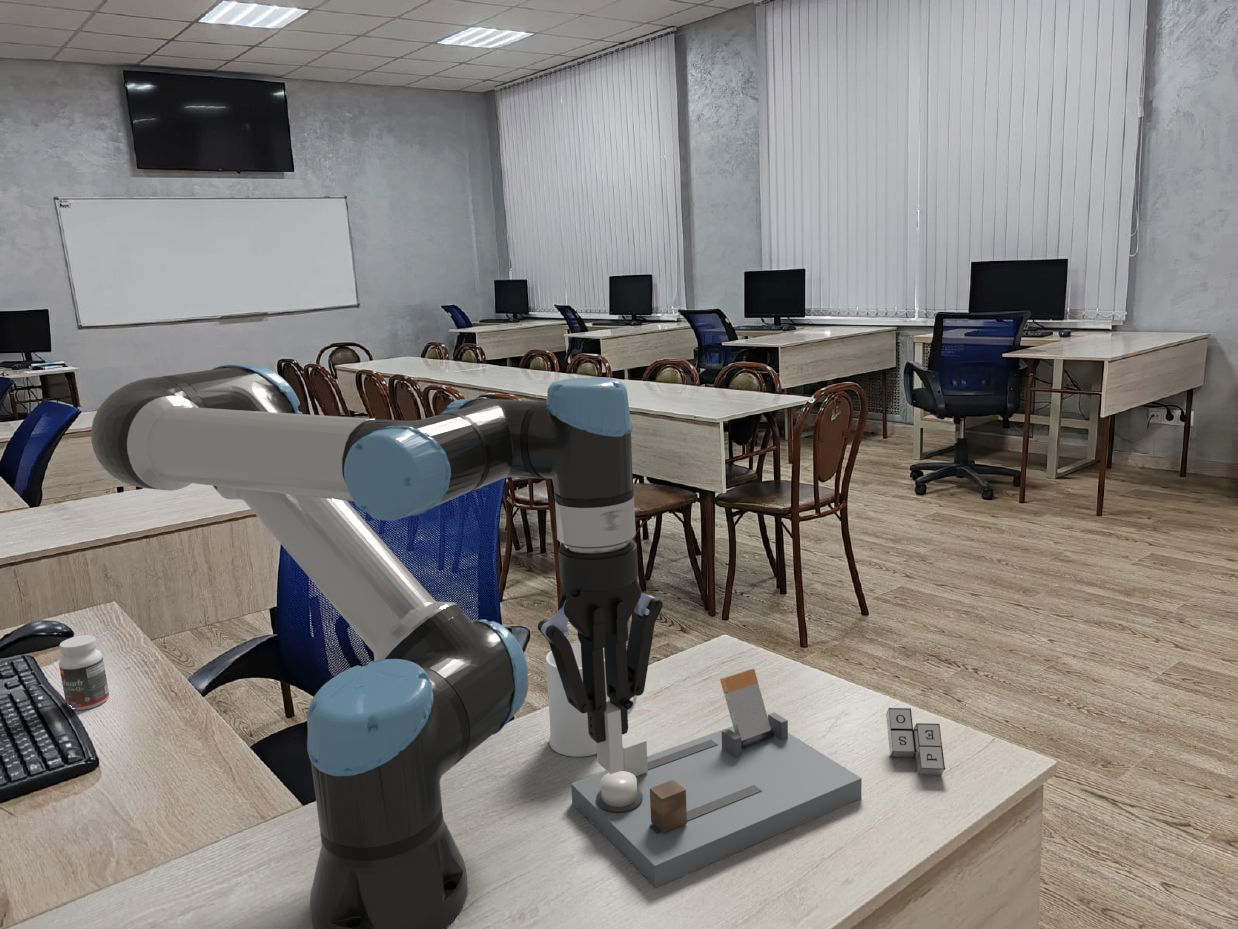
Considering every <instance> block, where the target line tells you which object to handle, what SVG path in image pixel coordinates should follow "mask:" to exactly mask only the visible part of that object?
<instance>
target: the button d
mask: <svg viewBox="0 0 1238 929" xmlns="http://www.w3.org/2000/svg"><path fill="white" fill-rule="evenodd" d="M601 796H602V801H603V802H604V803H605V804H607V805H609V806H613V807H623V806H628V805H630V804H632V803H633V802H635V801H636V799H637V779H636V777H635V776H634V775H633V774H632V773H630V772H626V771H619V772H616V773H613V774H610V773H607V774H606V775H604V776H603V777H602V779H601Z"/></svg>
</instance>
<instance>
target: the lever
mask: <svg viewBox="0 0 1238 929" xmlns="http://www.w3.org/2000/svg"><path fill="white" fill-rule="evenodd" d="M719 680H720V684H721V688H722V691H723V694H724V695H723V696H724V698H725V701H726V706H727V708H728V709H727V710H728V713H729V716H730V720H731V723H732V726H733V728H734V731H735V733H736V734H737V735H739V736H740V737H741V748H745V747H747V746H750V745H753V744H755V743H758V742H761V741H764V740H766V739H769V738H772V737H774V731H773V730H772V728H771V727H770V724H769V720H768V713H767V710H766V707H765V704H764V699H763V696H762V692H761V688H760V685H759V681H758V677H757V672H756V670H755V668H750V669H747V670H743V671H740V672H737V673H734V674H731V675H727V676H725V677H722V678H719Z"/></svg>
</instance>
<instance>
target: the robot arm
mask: <svg viewBox="0 0 1238 929" xmlns="http://www.w3.org/2000/svg"><path fill="white" fill-rule="evenodd" d="M548 386H549V387H548V388H547V392H546V393H547V395H546V400H529V399H528V400H527V399H498V398H497V399H496V398H490V397H488V396H486V397H483V396H480V397H477V398H470V399H468V398H467V399H457V400H455V401H452V402H450V403H449V405H446V406H447V407H446V408H445V410H443V412H441V413H440V414H437V415H433V416H429V417H426V418H422V419H418V420H417V419H416V420H399V419H398V420H396V419H394V420H393V419H376V418H365V417H351V416H337V415H335V416H334V415H321V414H319V415H318V414H306V413H305V414H304V413H303V412H302V411H299V406H300V404H301V402H300V400H299V398H298V396H297V394H296V392H295V391H294V389H293V388H292V386H291V385H290V384H289V383H288V381H287V380H285V379H284V377H282V376H281V375H279V374H278V373H277V372H275V371H273V370H272V369H270V368H267V367H264V366H262V365H261V366H260V365H255V364H242V365H241V364H225V365H219V366H217V367H213V368H212V369H207V370H206V369H205V370H200V371H193V372H183V373H177V374H170V375H163V376H158V377H157V376H154V377H148V378H147V377H146V378H142V379H137V380H135V381H132V382H129V383H127V384H125V385H123V386H121V387H119V388H118V389H116V390H115V391H113V392H112V393H111V394H109V395H108V397H107V398H105V400H104V401H103V402H102V404H101V405H100V406H99V407H98V408H97V410H96V413H95V415H94V417H93V419H92V424H91V425H92V426H91V430H90V432H91V433H90V436H91V439H90V440H91V445H92V449H93V453H94V454H95V457H96V459H97V460H98V462H99V463H100V465H101V466H102V468H103V469H104V470H105V471H106V472H107V473H108V474H109V475H110V476H111V477H113V478H115V479H117V480H118V481H120V482H122V483H124V484H127V485H129V486H133V487H136V488H137V487H138V488H143V489H149V490H151V489H153V490H157V491H158V490H159V491H167V492H168V491H178V490H180V489H182V490H183V489H184V488H186V487H188V486H190V485H191V484H194V485H205V486H211V487H212V486H213V488H214V489H215V490H216V492H217V493H218V494H219V495H220V496H221V497H222V498H224V499H226V500H239V501H240V500H242V501H243V502H244V503H245V504H246V505H247V506H248V508H249V509H250V510H251V511H252V513H253V514H254V515H255V516H256V517H257V518H258V519H259V520H260V521H261V522H262V524H263V525H264V526H265V527H266V529H268V530H269V532H270V533H271V534H272V535H273V537H274V538H275V539H276V541H277V542H278V543H279V544H280V545H281V546H282V547H283V548H284V550H285V551H286V552H287V553H288V554H289V555H290V557H291V558H292V560H294V561H295V563H297V565H298V566H299V567H300V569H301V570H302V571H303V572H304V573H305V574H306V575H307V576H308V578H309V579H310V580H311V581H312V583H313V584H315V587H317V588H318V589H319V590H320V592H322V594H323V596H324V597H325V598H326V599H327V600H328V601H329V602H330V603H331V604H332V605H333V607H334V609H336V611H338V613H339V614H340V615H341V616H342V617H343V619H344V620H345V621H346V622H347V623H348V624H349V626H350V627H351V628H352V629H353V630H354V631H355V633H356V634H357V635H358V636H359V638H361V640H363V642H364V643H365V645H367V647H368V648H369V649H370V650H371V652H372V653H373V657H374V659H373V661H369V662H368V663H367V665H365V666H361V665H355V666H353V667H350V668H348V669H346V670H344V671H342V672H340V673H338V674H337V675H335V676H334V677H332V678H331V679H329V680H328V681H327V682H326V683H324V684H323V685H322V686H321V687H320V689H319V690H318V691H317V692H316V693H315V694H314V696H313V698H312V699H311V702H310V704H309V707H308V710H307V716H306V719H307V720H306V722H307V723H306V724H307V740H306V750H307V754H308V757H309V761H310V767H311V768H310V769H311V774H312V780H313V781H312V782H313V789H314V795H315V801H316V810H317V811H316V812H317V817H318V819H317V820H318V825H319V832H320V839H321V840H320V842H321V846H320V851H319V854H318V859H317V862H316V863H317V864H316V868H315V872H314V877H313V881H312V885H311V889H310V896H309V897H310V898H309V906H310V907H309V908H310V914H311V923H312V928H313V929H443V928H444V927H445V928H446V927H447V926H449V925H450V924H451V923H452V922H453V921H454V920H455V919H456V917H458V915H459V914H460V912H461V911H462V909H463V907H464V906H465V902H466V899H467V896H468V889H469V888H468V877H467V867H466V864H465V861H464V860H465V859H464V858H463V856H462V853H461V852H460V850H459V848H458V846H457V844H456V843H457V842H455V839H454V838H453V836H452V833H451V832H450V829H449V827H448V825H447V823H446V821H445V819H444V814H443V813H444V812H443V806H442V805H443V803H442V791H441V779H442V776H443V775H445V774H446V773H447V772H449V771H450V770H451V769H452V768H453V767H454V766H455V765H457V764H459V762H461V761H462V760H463V759H464V758H465V757H467V756H468V755H469V754H470V753H472V752H473V751H474V750H475V749H476V748H478V747H480V746H481V744H483V743H484V742H485V741H487V740H488V738H490V737H492V735H496V734H497V733H499V732H500V731H501V730H502V729H503V728H504V727H505V726H506V725H507V724H508V723H509V721H510V720H511V719H512V718H513V717H514V716H515V715H516V714H517V713H518V712H519V711H520V710H521V708H522V706H523V704H524V702H525V700H526V698H527V695H528V691H529V685H530V684H529V679H528V678H529V677H528V674H529V667H528V662H527V659H526V655H525V653H524V651H523V649H522V647H521V645H520V643H519V642H518V639H517V638H516V636H514V634H513V633H512V632H510V630H509V629H508V628H506V627H505V626H503V625H502V624H501V623H499V622H497V621H494V620H492V621H489V620H487V619H479V618H478V619H475V620H472V619H471V618H470V617H469V616H468V615H467V614H466V613H465V611H463V610H462V609H461V607H460V606H459V605H458V604H457V603H456V602H453V601H451V602H450V601H437V600H435V599H434V597H432V595H431V594H430V593H429V592H427V590H426V589H425V588H424V586H422V584H421V583H420V582H419V581H418V580H417V579H416V577H415V576H414V575H413V574H412V573H411V572H410V571H409V570H408V569H407V567H406V566H405V565H404V564H403V562H401V560H400V559H399V558H398V557H397V556H396V555H395V553H394V552H393V551H392V550H391V549H390V548H389V547H388V546H387V544H386V543H385V542H384V541H383V539H381V538H380V536H379V535H378V534H377V533H376V532H375V531H374V529H372V528H371V526H370V525H369V524H368V523H367V522H366V520H364V518H363V517H362V516H361V515H360V514H359V512H357V510H356V509H355V508H354V507H353V506H352V505H351V503H350V502H354V504H355V505H356V506H357V507H358V508H359V509H360V510H362V511H364V512H366V513H367V514H368V515H369V516H370V517H371V518H373V519H376V520H380V521H388V522H389V521H390V522H391V521H396V520H397V521H398V520H401V519H402V518H406V517H415V516H419V515H422V514H425V513H426V512H428V511H430V510H432V509H433V508H435V507H437V506H439V505H441V504H443V503H446V502H449V501H451V500H453V499H456V498H459V497H460V496H463V495H465V494H467V493H469V492H473V491H476V490H479V489H481V488H483V487H485V486H488V485H490V484H492V483H496V482H498V481H500V480H502V479H505V478H507V479H508V478H526V479H540V480H542V479H543V480H548V479H551V480H552V486H553V492H554V507H555V519H556V520H555V522H556V536H557V538H556V540H557V541H559V542H560V546H559V547H558V550H557V551H558V552H557V554H558V565H559V580H560V585H561V595H560V598H559V601H558V611H556V613H554V615H553V616H552V617H550V619H549V620H546V619H542V620H540V621H539V622H538V624H537V629H538V631H539V632H540V634H542V636H543V637H544V638H545V639H546V641H548V644H549V648H550V651H552V654H553V657H554V660H555V663H556V666H557V669H558V672H559V675H560V678H561V681H562V684H563V687H564V691H565V694H566V697H567V700H568V702H569V703H570V704H571V705H572V706H573V707H575V708H576V709H577V710H578V711H579V712H581V713H587V716H588V728H589V729H588V732H589V735H590V737H591V738H592V739H593V740H594V741H595V742H596V743H597V754H596V755H597V758H596V759H597V763H598V764H599V765H600V766H601V767H603V769H604V770H606V771H608V772H609V773H610V774H613V773H616V772H619V771H621V770H624V763H623V746H622V737H623V735H625V734H628V731H629V719H628V718H629V717H628V716H629V715H628V712H627V710H629V709H630V708H631V707H632V706H633V702H632V700H631V699H633V697H634V696H635V695H636V696H637V697H640V696H641V695H643V694H644V692H645V688H646V681H647V676H648V675H647V674H648V669H649V664H650V663H649V662H650V655H651V652H652V651H651V650H652V643H653V637H654V631H655V626H656V622H657V620H658V618H659V615H660V613H661V611H662V608H663V601H662V600H661V599H658V598H656V597H655V596H653V595H651V594H649V593H642V588H641V585H640V584H639V582H638V580H637V579H638V576H639V565H638V564H639V562H638V561H639V560H638V559H639V558H638V547H637V546H638V544H637V542H636V541H635V540H634V537H635V536H636V534H637V531H636V515H635V514H636V512H635V510H636V508H635V494H634V493H635V492H634V485H633V484H634V483H633V482H634V481H633V480H634V479H633V477H634V476H633V456H632V455H633V454H632V453H633V451H632V450H633V449H632V432H633V431H632V430H633V423H632V421H631V415H630V414H631V413H630V405H629V395H628V390H627V387H626V385H625V384H624V383H623V382H622V381H621V380H619V379H616V378H613V377H606V376H605V377H604V376H603V377H600V376H595V377H594V376H592V377H591V376H590V377H576V378H575V377H574V378H567V379H561V380H557V381H554V382H552V383H551V384H550V385H548ZM630 618H631V620H630ZM629 620H630V625H629V624H628V622H629ZM568 622H569V623H570V624H571V625H572V626H573V628H574V629H575V630H576V631H577V639H578V641H579V643H580V644H581V659H582V675H583V681H582V678H581V675H580V671H579V668H578V665H577V662H576V659H575V656H574V653H573V649H572V647H571V644H572V643H571V642H570V641H569V639H568V637H569V636H570V632H569V627H568ZM628 625H629V626H630V627H629V626H628ZM603 648H604V652H603ZM604 657H605V670H604ZM605 673H606V687H605ZM606 689H607V696H608V697H609V700H610V701H608V700H606ZM445 928H444V929H445Z"/></svg>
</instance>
